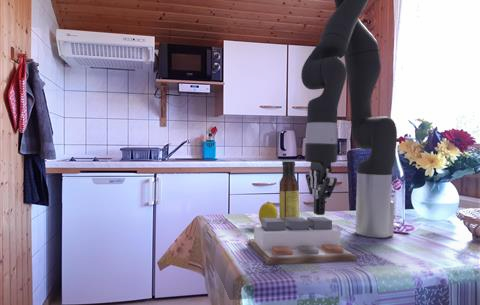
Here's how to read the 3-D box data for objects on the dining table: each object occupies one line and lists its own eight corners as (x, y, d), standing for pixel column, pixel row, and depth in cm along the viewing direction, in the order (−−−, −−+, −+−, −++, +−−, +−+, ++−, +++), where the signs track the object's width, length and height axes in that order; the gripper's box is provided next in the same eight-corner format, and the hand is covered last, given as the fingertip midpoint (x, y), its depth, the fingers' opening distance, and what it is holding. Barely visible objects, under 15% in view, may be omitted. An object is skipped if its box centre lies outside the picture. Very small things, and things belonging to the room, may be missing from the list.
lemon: (276, 231, 100) (277, 203, 100) (257, 229, 101) (257, 202, 101) (278, 227, 105) (278, 200, 105) (259, 225, 106) (260, 199, 106)
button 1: (323, 233, 87) (323, 216, 86) (331, 237, 82) (332, 220, 82) (306, 233, 86) (307, 217, 86) (314, 238, 81) (314, 221, 81)
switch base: (323, 240, 91) (324, 231, 91) (356, 260, 75) (356, 249, 75) (248, 243, 87) (249, 233, 87) (267, 264, 71) (267, 253, 71)
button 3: (278, 234, 84) (279, 217, 84) (284, 239, 80) (285, 221, 80) (261, 234, 83) (261, 218, 83) (266, 239, 79) (266, 221, 79)
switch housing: (324, 239, 89) (325, 223, 89) (340, 247, 81) (340, 230, 81) (253, 241, 85) (254, 224, 85) (262, 250, 77) (263, 232, 77)
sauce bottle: (301, 222, 113) (303, 161, 112) (294, 225, 107) (295, 161, 107) (283, 219, 116) (285, 160, 116) (275, 223, 111) (276, 160, 111)
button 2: (301, 233, 85) (301, 217, 85) (308, 238, 81) (309, 221, 81) (284, 234, 84) (284, 217, 84) (290, 238, 80) (291, 221, 80)
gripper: (349, 142, 78) (347, 219, 78) (323, 143, 91) (321, 209, 91) (318, 141, 76) (315, 220, 77) (296, 142, 89) (294, 209, 90)
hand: (319, 214), depth 84 cm, fingers closed
